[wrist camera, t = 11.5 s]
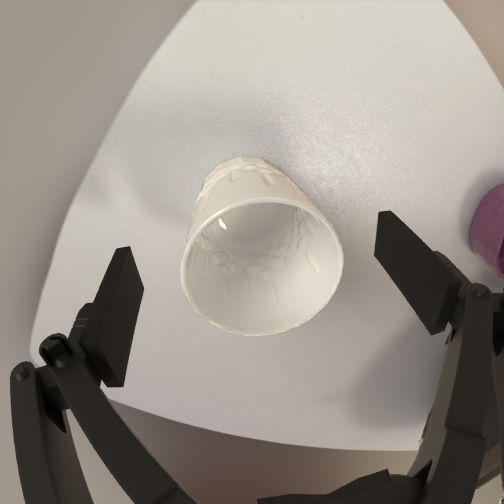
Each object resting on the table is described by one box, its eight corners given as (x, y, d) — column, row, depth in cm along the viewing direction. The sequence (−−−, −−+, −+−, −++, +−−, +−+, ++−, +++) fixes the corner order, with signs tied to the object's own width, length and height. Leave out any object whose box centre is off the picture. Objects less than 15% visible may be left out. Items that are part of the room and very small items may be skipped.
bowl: (543, 332, 45) (588, 393, 27) (424, 433, 55) (454, 503, 38) (532, 236, 30) (627, 327, 13) (345, 403, 40) (386, 526, 23)
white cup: (172, 217, 24) (153, 301, 15) (228, 127, 21) (240, 162, 12) (258, 261, 27) (281, 352, 18) (317, 184, 24) (374, 250, 15)
